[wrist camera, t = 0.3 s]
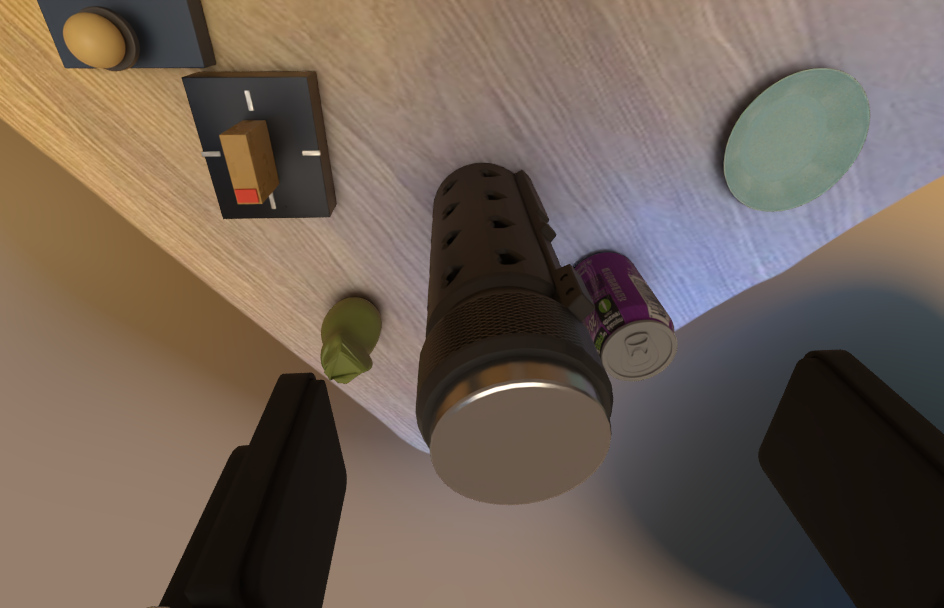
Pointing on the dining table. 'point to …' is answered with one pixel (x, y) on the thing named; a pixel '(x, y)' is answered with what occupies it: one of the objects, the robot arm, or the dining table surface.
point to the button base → (143, 30)
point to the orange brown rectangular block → (250, 161)
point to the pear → (349, 338)
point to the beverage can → (626, 319)
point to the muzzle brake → (507, 348)
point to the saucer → (796, 139)
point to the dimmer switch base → (290, 130)
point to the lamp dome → (101, 39)
